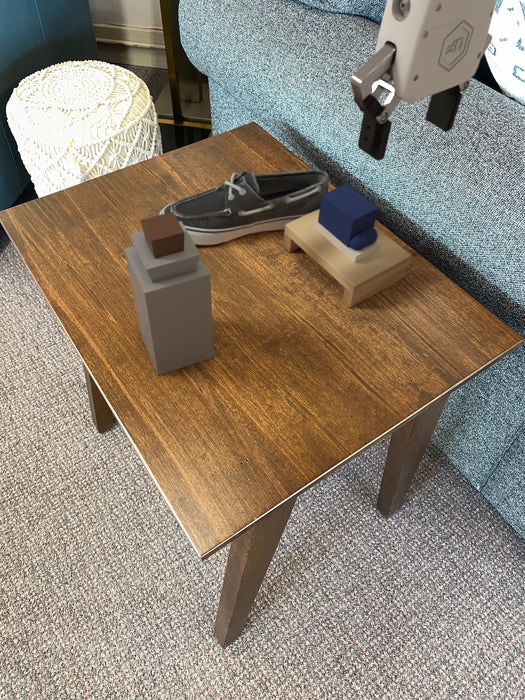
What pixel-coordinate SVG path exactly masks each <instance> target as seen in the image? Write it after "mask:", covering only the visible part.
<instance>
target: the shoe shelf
mask: <svg viewBox="0 0 525 700" xmlns="http://www.w3.org/2000/svg"><path fill="white" fill-rule="evenodd" d="M319 211H320V209H318V210H316V211H314V212H312V213H309V214H307V215H305V216H303V217H300V218H298V219H296V220H294V221H292V222H289V223H287V224H285V230H284V233H283V241H282V242H283V243H282V247H283V249H285V250H286V252H288V253H289V254H290V253H292V252H294V251H296V250H298V249H302V250H303V251H304V252H305V253H306V254H307V255H308V256H309V257H310V258H311V259H313V260H314V261H315V262H316V263H317V264H318V265H319V266H321V268H323V269H324V271H326V272H327V273H328V274H329V275H330V276H331V277H332V278H334V279H335V280H336V281H337V282H338V283H339V284H340V285H342V287H343V288H344V290H343V295H342V298H341V302H342V303H343V304H344V305H345V306H346V307H347V308H348V309H351V308H353V307H355V306H356V305H357V304H361V302H364V301H365V300H367V299H369V298H371V297H372V296H374V295H376V294H377V293H380V292H382V291H383V290H385V289H387V288H389V287H390V286H392V285H394V284H396V283H398V282H399V281H402V280H403V279H405V277H406V275H407V272H408V268H409V265H410V262H411V259H412V254H410V253H409V252H408V251H406V250H405V249H404V248H403V247H402V246H401V245H399V244H398V243H397V242H396V241H394V240H393V239H391V238H390V237H389V236H388V235H387V234H386V233H384V232H382V231H381V230H380V229H379V228H378V227H377V226H376V225H374V229H375V230H376V231H377V233H378V237H377V239H378V240H379V241H380V242H381V243H382V245H381V249H380V250H379V251H377V252H375V253H374V254H372V255H370V256H368V257H366V258H364V259H362V260H360V261H358V262H356V263H354V262H353V261H352V260H350V259H349V258H348V257H347V256H346V255H345V254H344V253H342V252H341V251H340V250H339V249H338V248H337V247H335V246H334V245H333V244H332V243H331V242H330V241H328V240H327V239H326V238H325V237H324V236H323V235H322V234H320V233H319V232H318V231H317V230H316V229H315V225H316V222H317V221H318V217H319Z"/></svg>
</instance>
